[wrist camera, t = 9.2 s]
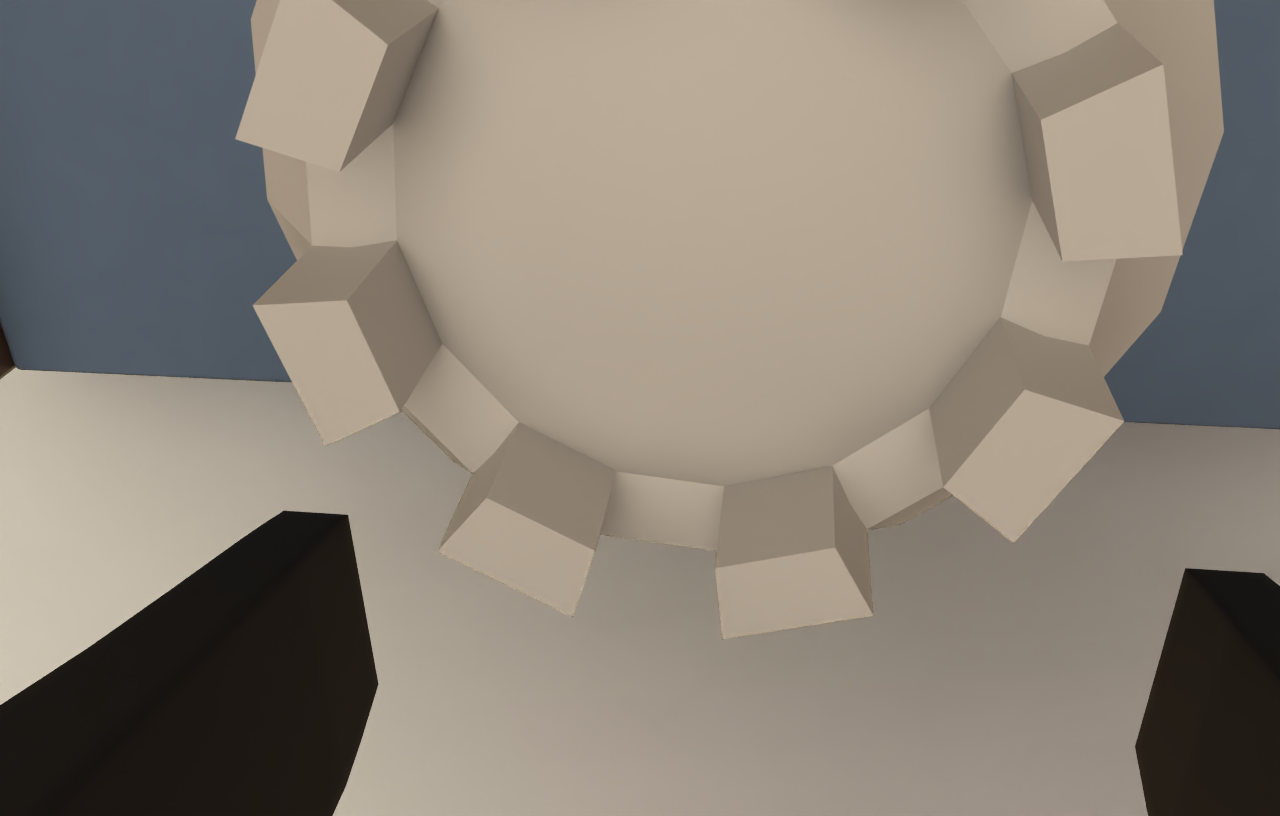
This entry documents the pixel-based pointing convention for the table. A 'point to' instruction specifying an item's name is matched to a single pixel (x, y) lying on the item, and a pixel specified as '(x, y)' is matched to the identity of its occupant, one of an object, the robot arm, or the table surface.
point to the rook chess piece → (728, 260)
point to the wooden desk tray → (260, 254)
